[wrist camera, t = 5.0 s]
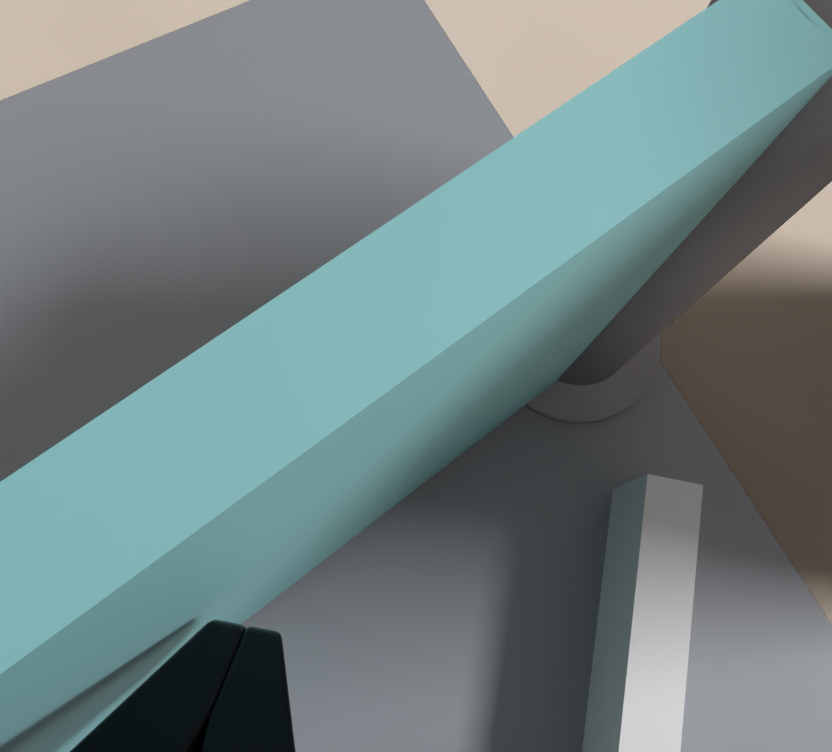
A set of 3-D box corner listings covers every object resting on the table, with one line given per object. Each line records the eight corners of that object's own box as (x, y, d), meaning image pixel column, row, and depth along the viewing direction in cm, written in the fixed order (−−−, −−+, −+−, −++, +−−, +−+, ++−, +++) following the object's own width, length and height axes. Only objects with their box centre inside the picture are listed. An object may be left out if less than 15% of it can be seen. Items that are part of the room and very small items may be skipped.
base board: (35, 1674, 12) (-71, 2030, 9) (-418, 305, 16) (-582, 242, 14) (1005, 898, 15) (1155, 968, 12) (400, -30, 20) (407, -134, 17)
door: (551, 229, 17) (805, -257, 7) (651, 344, 16) (1067, -19, 7) (-55, 662, 14) (-998, 807, 4) (42, 822, 13) (-790, 1407, 4)
